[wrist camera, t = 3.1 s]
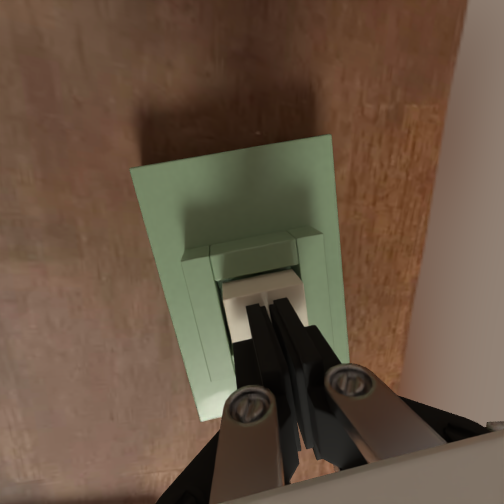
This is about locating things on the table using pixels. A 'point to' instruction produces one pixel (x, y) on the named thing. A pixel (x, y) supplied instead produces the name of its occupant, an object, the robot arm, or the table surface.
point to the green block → (242, 245)
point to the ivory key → (261, 299)
